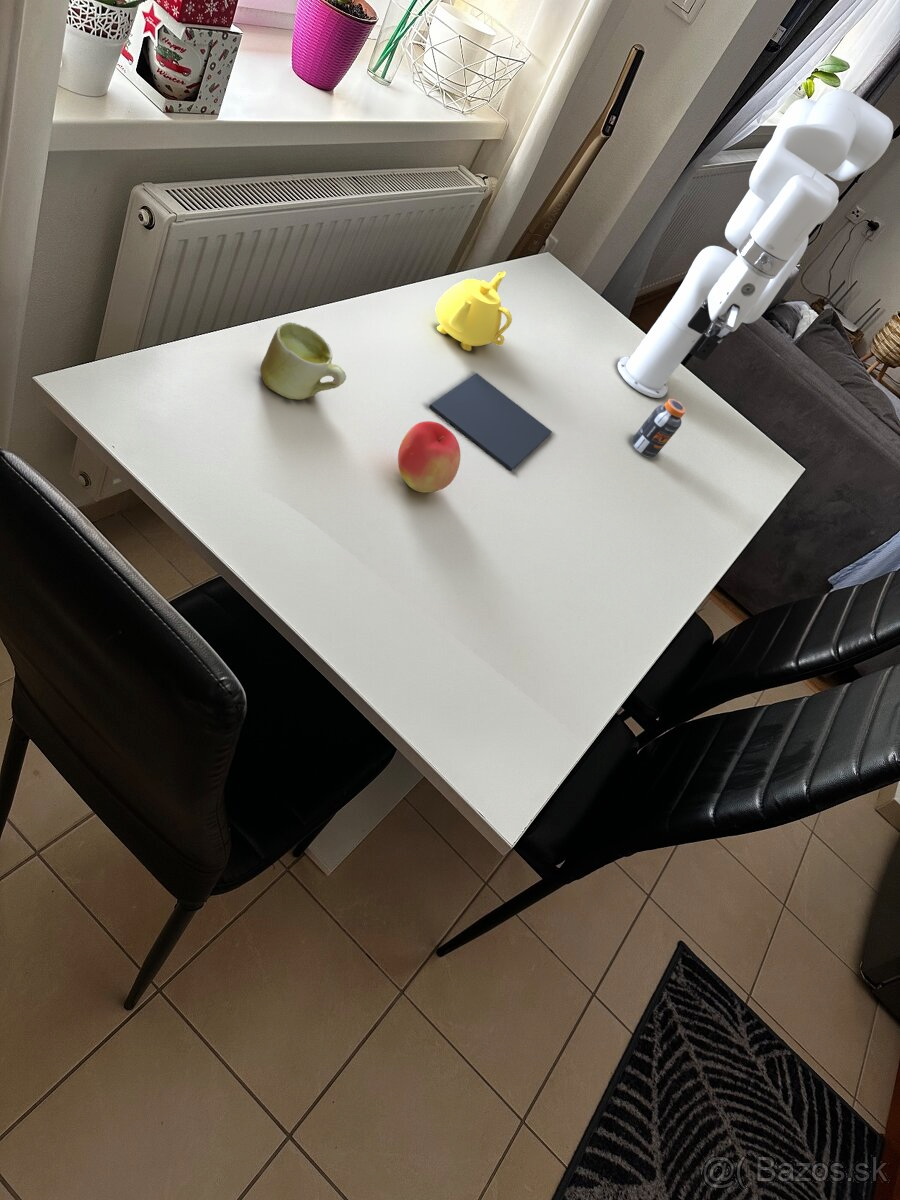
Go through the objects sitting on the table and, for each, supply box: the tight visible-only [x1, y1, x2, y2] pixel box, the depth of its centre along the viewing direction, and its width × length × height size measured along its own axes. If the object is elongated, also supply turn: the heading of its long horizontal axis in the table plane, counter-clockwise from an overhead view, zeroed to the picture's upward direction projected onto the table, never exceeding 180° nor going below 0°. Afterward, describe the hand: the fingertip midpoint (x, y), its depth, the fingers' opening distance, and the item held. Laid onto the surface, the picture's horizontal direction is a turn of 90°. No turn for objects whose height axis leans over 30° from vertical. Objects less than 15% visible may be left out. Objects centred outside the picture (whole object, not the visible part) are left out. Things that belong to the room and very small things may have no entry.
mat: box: [428, 372, 553, 472], centre depth 153 cm, size 18×18×1 cm
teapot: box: [435, 270, 513, 352], centre depth 164 cm, size 20×15×12 cm
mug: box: [260, 321, 347, 400], centre depth 131 cm, size 12×10×10 cm
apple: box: [397, 420, 461, 493], centre depth 129 cm, size 10×10×10 cm
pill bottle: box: [631, 398, 687, 458], centre depth 168 cm, size 6×6×11 cm
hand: (695, 342), depth 148 cm, fingers open, 9 cm apart
